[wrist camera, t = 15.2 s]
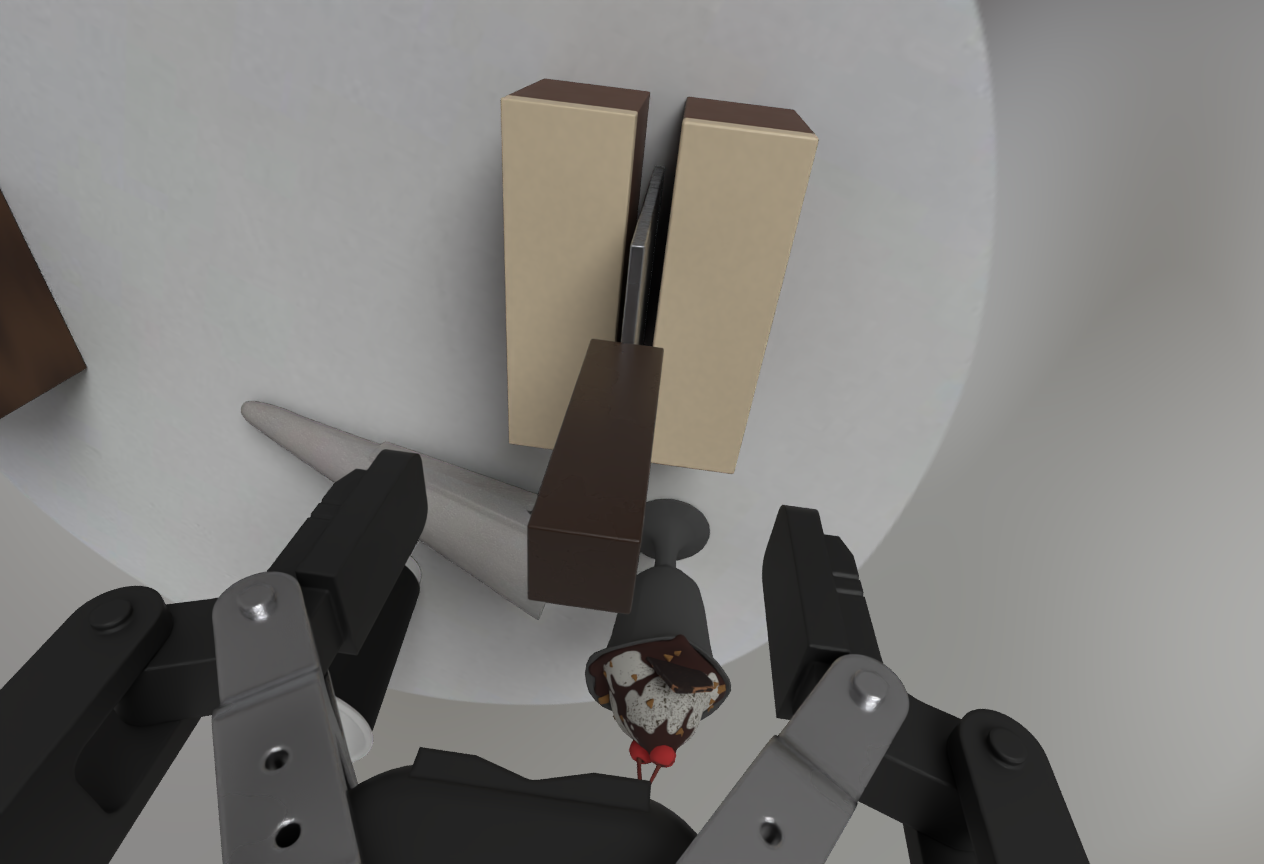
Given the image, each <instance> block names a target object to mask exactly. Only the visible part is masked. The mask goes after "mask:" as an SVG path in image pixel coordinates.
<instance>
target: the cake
mask: <svg viewBox="0 0 1264 864" xmlns="http://www.w3.org/2000/svg"><path fill="white" fill-rule="evenodd" d="M649 98H650V92H647V91H639V90H631V89H623V88H615V87H607V86H599V85H591V84H583V83H575V82H567V81H559V80H551V79H542V80H540V81H538V82H536V83H534V84H531V85H529V86H527V87H525V88H523V89H520V90H518V91H516V92H514V93H512V94H509V95H507V96H505V97H503V98H501V134H502V175H503V216H504V257H505V298H506V339H507V381H508V422H509V443H510V444H516V445H523V446H530V447H538V448H545V449H552V450H553V449H554V446H555V443H556V440H557V437H558V434H559V431H560V428H561V425H562V422H563V419H564V416H565V414H566V411H567V408H568V405H569V402H570V399H571V396H572V393H573V390H574V387H575V384H576V381H577V378H578V376H579V373H580V370H581V367H582V364H583V361H584V358H585V355H586V352H587V349H588V346H589V343H590V340H591V339H600V340H607V341H614V342H621V337H622V327H623V317H624V307H625V296H626V286H627V276H628V266H629V255H630V246H631V242H632V239H633V236H634V233H635V229H636V226H637V216H638V206H639V196H640V187H641V177H642V167H643V157H644V147H645V138H646V128H647V118H648V108H649ZM818 141H819V140H818V137H817V136H816V135H815V133H814V132H813V131H812V130H811V129H810V128H809V127H808V125H807V124H806V123H805V122H804V121H803V120H802V119H801V117H800V116H799V115H798V114H797V113H796V112H795V111H794V110H791V109H783V108H775V107H767V106H759V105H751V104H743V103H735V102H727V101H719V100H711V99H703V98H695V97H687V100H686V105H685V111H684V116H683V122H682V128H681V136H680V143H679V151H678V159H677V166H676V174H675V181H674V189H673V196H672V204H671V211H670V219H669V226H668V234H667V242H666V249H665V257H664V264H663V272H662V279H661V287H660V294H659V302H658V309H657V317H656V324H655V332H654V340H653V347H659V348H663V349H664V356H663V364H662V373H661V381H660V390H659V398H658V406H657V415H656V423H655V432H654V440H653V449H652V457H651V463H656V464H663V465H671V466H678V467H685V468H692V469H699V470H707V471H714V472H721V473H728V474H733V473H734V471H735V467H736V463H737V459H738V455H739V452H740V448H741V444H742V440H743V436H744V432H745V428H746V424H747V420H748V416H749V412H750V408H751V404H752V400H753V397H754V393H755V389H756V385H757V381H758V377H759V373H760V369H761V365H762V361H763V357H764V353H765V349H766V346H767V342H768V338H769V334H770V330H771V326H772V322H773V318H774V314H775V310H776V306H777V302H778V298H779V295H780V291H781V287H782V283H783V279H784V275H785V271H786V267H787V263H788V259H789V255H790V251H791V247H792V244H793V240H794V236H795V232H796V228H797V224H798V220H799V216H800V212H801V208H802V204H803V200H804V196H805V192H806V189H807V185H808V181H809V177H810V173H811V169H812V165H813V161H814V157H815V153H816V149H817V145H818Z"/></svg>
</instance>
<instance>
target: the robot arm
mask: <svg viewBox="0 0 1264 864" xmlns="http://www.w3.org/2000/svg"><path fill="white" fill-rule="evenodd" d="M427 514H428V501H427V494H426V486H425V479H424V472H423V464H422V459H421V456H420V455H419V454H418V453H411V452H403V451H396V450H389V449H384V450H382V451H381V452H380V453H379V454H378V455H377V457H376V458H375V460H374V461H373V462H372V464H371V465H370V467H369V468H368V469H367V470H364V469H357V468H356V469H354V470H353V471H351V472H350V473H348V474H347V475H345V476H344V477H342V478H341V479H339V480H338V481H336V482H335V483H334V484H333V486H332V487H331V488H330V490H329V491H328V492H327V494H326V495H325V496H324V498H323V499H322V502H321V503H319V504H318V505H317V507H316V508H315V509H314V511H313V512H312V513H311V517H310V518H307V520H306V521H305V522H304V524H303V525H302V526H301V528H300V529H299V530H298V531H297V533H296V534H295V535H294V537H293V538H292V539H291V541H290V542H289V543H288V545H287V546H286V547H285V548H284V550H283V551H282V552H281V554H280V555H279V556H278V558H277V559H276V560H275V562H274V563H273V564H272V565H271V567H270V568H269V569H268V570H267V572H262V573H258V574H254V575H251V576H248V577H246V578H244V579H242V580H239V581H238V582H236V583H234V584H233V585H231V586H230V587H229V588H228V589H226V590H225V591H224V592H223V593H222V594H221V595H220V597H219V598H214V599H207V600H199V601H191V602H183V603H174V604H167V605H166V604H165V602H164V600H163V599H162V597H161V595H160V594H159V593H158V592H157V591H156V590H154V589H152V588H149V587H144V586H129V587H123V588H118V589H114V590H111V591H108V592H106V593H103V594H101V595H99V596H97V597H95V598H93V599H92V600H90V601H88V602H86V603H85V604H84V605H82V606H81V607H80V608H78V609H77V610H76V611H75V612H74V613H73V614H72V615H71V616H70V617H69V618H68V619H67V620H66V621H65V622H64V623H63V624H62V626H60V627H59V629H58V630H57V631H56V632H55V633H54V634H53V635H52V636H51V637H50V638H49V639H48V640H47V641H46V642H45V643H44V644H43V645H42V646H41V648H40V649H39V650H38V651H37V652H36V653H35V654H34V655H33V656H32V657H31V658H30V659H29V660H28V661H27V662H26V663H25V664H24V665H23V667H22V668H21V669H20V670H19V671H18V672H17V673H16V674H15V675H14V676H13V677H12V678H11V679H10V680H9V681H8V682H7V683H6V684H5V685H4V687H3V688H2V689H1V690H0V864H109V862H110V860H111V859H112V857H113V856H114V854H115V852H116V851H117V849H118V848H119V846H120V845H121V843H122V841H123V840H124V838H125V837H126V835H127V833H128V832H129V830H130V829H131V827H132V826H133V824H134V822H135V821H136V819H137V818H138V816H139V815H140V813H141V811H142V810H143V808H144V807H145V805H146V804H147V802H148V800H149V799H150V797H151V795H152V794H153V792H154V791H155V789H156V788H157V786H158V785H159V783H160V781H161V780H162V778H163V777H164V775H165V774H166V772H167V770H168V769H169V767H170V766H171V764H172V762H173V761H174V759H175V758H176V756H177V755H178V753H179V751H180V750H181V748H182V747H183V745H184V743H185V742H186V740H187V739H188V737H189V736H190V734H191V732H192V731H193V729H194V728H195V726H196V725H197V723H198V721H199V720H200V718H201V717H203V716H209V715H212V733H213V746H214V758H215V771H216V783H217V795H218V808H219V821H220V834H221V847H222V860H223V864H824V863H825V862H826V860H827V858H828V856H829V854H830V853H831V851H832V849H833V847H834V846H835V844H836V842H837V840H838V839H839V837H840V835H841V833H842V832H843V830H844V828H845V827H846V825H847V823H848V821H849V819H850V818H851V816H852V814H853V812H854V810H855V808H856V806H857V802H858V801H859V802H861V803H863V804H865V805H867V806H869V807H871V808H873V809H875V810H877V811H879V812H881V813H883V814H885V815H887V816H889V817H891V818H893V819H895V820H897V821H899V822H901V823H903V826H904V832H905V838H906V842H907V848H908V853H909V859H910V864H1090V863H1089V861H1088V858H1087V856H1086V853H1085V851H1084V849H1083V846H1082V843H1081V841H1080V838H1079V836H1078V833H1077V831H1076V828H1075V826H1074V823H1073V821H1072V818H1071V816H1070V813H1069V811H1068V808H1067V806H1066V803H1065V801H1064V798H1063V796H1062V793H1061V791H1060V788H1059V786H1058V783H1057V781H1056V778H1055V776H1054V773H1053V770H1052V768H1051V766H1050V763H1049V761H1048V758H1047V756H1046V754H1045V752H1044V750H1043V748H1042V747H1041V745H1040V744H1039V742H1038V741H1037V740H1036V739H1035V737H1034V736H1033V735H1032V734H1031V733H1030V732H1029V731H1028V730H1027V729H1026V728H1024V727H1023V726H1022V725H1021V724H1020V723H1018V722H1017V721H1015V720H1014V719H1012V718H1010V717H1008V716H1007V715H1005V714H1002V713H1000V712H997V711H993V710H988V709H976V710H972V711H970V712H968V713H967V714H966V715H965V716H964V717H963V718H962V719H959V718H957V717H955V716H953V715H950V714H948V713H946V712H944V711H941V710H939V709H937V708H934V707H932V706H930V705H927V704H925V703H923V702H921V701H919V700H917V699H916V698H914V697H913V696H911V695H910V694H908V693H907V691H906V689H905V687H904V685H903V683H902V682H901V680H900V679H899V678H898V676H897V675H896V674H895V673H894V672H893V671H892V670H891V669H890V668H888V667H887V666H886V665H884V664H883V661H882V658H881V655H880V651H879V648H878V644H877V640H876V637H875V633H874V629H873V626H872V622H871V618H870V615H869V611H868V607H867V604H866V600H865V597H863V589H862V585H861V582H860V580H859V575H858V571H857V567H856V563H855V560H854V556H853V554H852V553H851V552H850V550H849V549H848V548H847V546H846V545H845V544H844V543H843V541H842V540H841V539H840V537H839V536H832V535H825V534H824V533H823V529H822V525H821V520H820V516H819V513H818V511H817V510H816V509H809V508H802V507H795V506H788V505H782V506H781V507H780V509H779V511H778V514H777V517H776V521H775V524H774V527H773V530H772V533H771V536H770V539H769V542H768V545H767V548H766V551H765V555H764V560H763V568H762V582H763V592H764V602H765V612H766V621H767V631H768V641H769V650H770V660H771V670H772V679H773V689H774V699H775V708H776V717H777V718H780V719H788V720H790V721H789V722H788V724H787V725H786V726H785V728H784V729H783V730H782V731H781V733H780V734H779V735H778V736H777V735H774V736H773V737H772V738H771V739H770V740H769V742H768V743H767V744H766V746H765V747H764V748H763V749H762V750H761V752H760V753H759V755H758V756H757V757H756V759H755V760H754V761H753V762H752V764H751V765H750V766H749V768H748V769H747V770H746V772H745V773H744V774H743V776H742V777H741V778H740V780H739V781H738V782H737V783H736V785H735V786H734V787H733V789H732V790H731V791H730V793H729V794H728V795H727V797H726V798H725V799H724V801H723V802H722V803H721V805H720V806H719V807H718V808H717V810H716V811H715V813H714V814H713V815H712V816H711V818H710V819H709V820H708V822H707V823H706V824H705V826H704V827H703V828H702V830H701V831H700V832H699V834H698V835H697V833H696V832H695V831H694V830H693V829H692V828H691V827H690V826H689V825H688V824H687V823H686V822H685V821H684V820H683V819H681V818H680V817H679V816H678V815H676V814H675V813H674V812H673V811H671V810H670V809H668V808H666V807H665V806H663V805H662V804H660V803H658V802H656V801H654V800H651V799H650V790H651V781H646V780H640V779H633V778H626V777H619V776H612V775H606V774H599V773H589V774H581V775H572V776H564V777H557V778H549V779H541V780H529V779H527V778H524V777H522V776H520V775H518V774H516V773H514V772H511V771H509V770H507V769H505V768H503V767H500V766H498V765H496V764H494V763H492V762H490V761H487V760H485V759H483V758H481V757H479V756H476V755H470V754H463V753H457V752H449V751H443V750H436V749H429V748H423V747H420V748H419V751H418V753H417V756H416V759H415V761H414V764H413V765H409V766H404V767H400V768H396V769H392V770H389V771H386V772H384V773H381V774H378V775H376V776H374V777H372V778H370V779H368V780H366V781H364V782H362V783H360V784H358V782H357V779H356V775H355V772H354V768H353V765H352V762H351V758H350V754H349V750H348V747H347V742H346V738H345V734H344V730H343V726H342V722H341V718H340V714H339V710H338V706H337V701H336V697H335V693H334V689H333V685H332V681H331V677H330V673H329V670H328V668H329V667H330V665H331V663H332V661H333V659H334V658H335V656H336V654H337V653H344V654H351V655H358V653H359V651H360V649H361V647H362V645H363V643H364V642H365V640H366V638H367V636H368V634H369V632H370V630H371V628H372V626H373V625H374V623H375V621H376V619H377V617H378V615H379V613H380V611H381V609H382V607H383V606H384V604H385V602H386V600H387V598H388V596H389V594H390V592H391V590H392V589H393V587H394V585H395V583H396V581H397V579H398V577H399V575H400V573H401V572H402V570H403V568H404V566H405V564H406V562H407V560H408V558H409V556H410V555H411V553H412V551H413V549H414V547H415V545H416V543H417V541H418V539H419V538H420V536H421V534H422V532H423V529H424V527H425V524H426V520H427Z"/></svg>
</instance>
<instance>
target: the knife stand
mask: <svg viewBox="0 0 1264 864" xmlns="http://www.w3.org/2000/svg"><path fill="white" fill-rule="evenodd" d="M86 368H87V367H86V365H85V363H84V361H83V359H82V357H81V355H80V353H79V350H78V348H77V346H76V344H75V342H74V340H73V338H72V336H71V334H70V332H69V330H68V328H67V326H66V324H65V322H64V320H63V318H62V316H61V314H60V311H59V309H58V307H57V305H56V303H55V301H54V299H53V297H52V295H51V293H50V291H49V289H48V287H47V285H46V283H45V281H44V279H43V277H42V274H41V272H40V270H39V268H38V266H37V264H36V262H35V260H34V258H33V256H32V254H31V252H30V250H29V248H28V246H27V244H26V242H25V240H24V237H23V235H22V233H21V231H20V229H19V227H18V225H17V223H16V221H15V219H14V217H13V215H12V213H11V211H10V209H9V207H8V205H7V203H6V201H5V198H4V196H3V194H2V192H1V190H0V419H1V418H3V417H4V416H6V415H8V414H9V413H11V412H13V411H14V410H16V409H18V408H20V407H21V406H23V405H25V404H26V403H28V402H30V401H32V400H33V399H35V398H37V397H38V396H40V395H42V394H43V393H45V392H47V391H49V390H50V389H52V388H54V387H55V386H57V385H59V384H60V383H62V382H64V381H66V380H67V379H69V378H71V377H72V376H74V375H76V374H78V373H79V372H81V371H83V370H84V369H86Z"/></svg>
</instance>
